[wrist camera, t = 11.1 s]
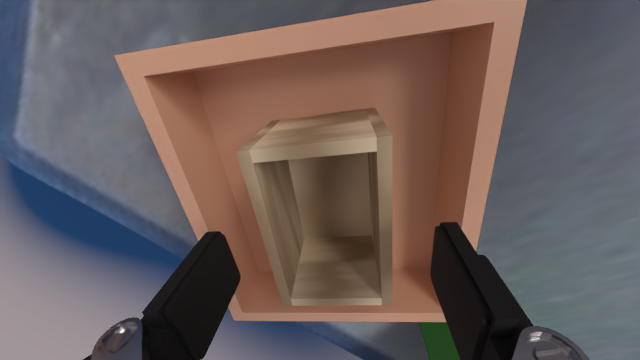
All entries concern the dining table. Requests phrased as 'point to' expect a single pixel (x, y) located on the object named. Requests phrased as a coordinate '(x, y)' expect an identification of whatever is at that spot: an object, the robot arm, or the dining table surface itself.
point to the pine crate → (325, 206)
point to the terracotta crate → (328, 97)
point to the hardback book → (439, 341)
